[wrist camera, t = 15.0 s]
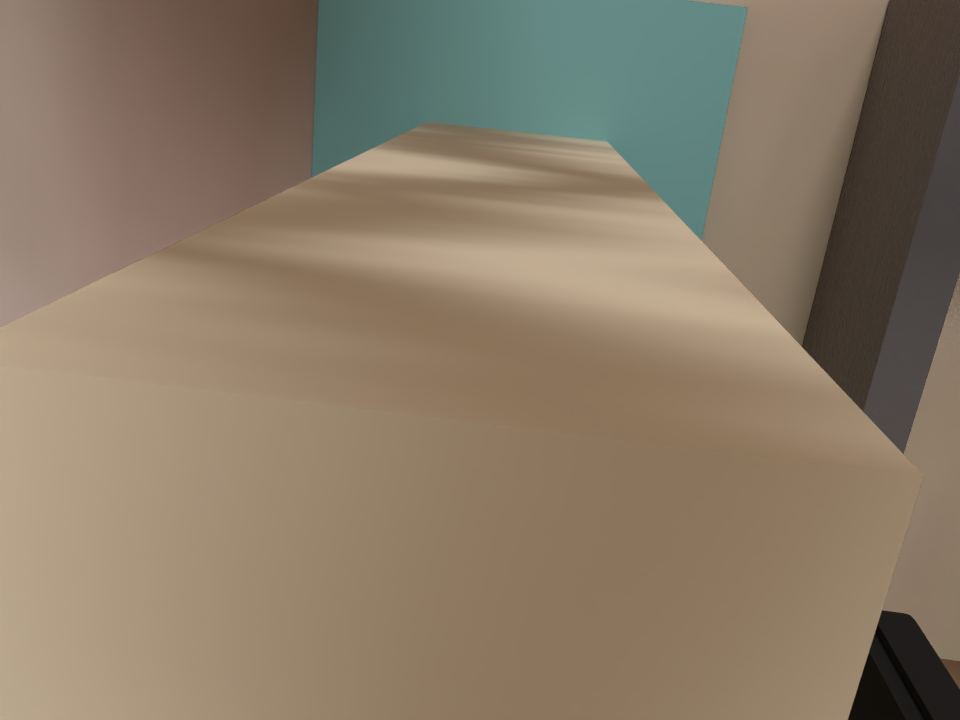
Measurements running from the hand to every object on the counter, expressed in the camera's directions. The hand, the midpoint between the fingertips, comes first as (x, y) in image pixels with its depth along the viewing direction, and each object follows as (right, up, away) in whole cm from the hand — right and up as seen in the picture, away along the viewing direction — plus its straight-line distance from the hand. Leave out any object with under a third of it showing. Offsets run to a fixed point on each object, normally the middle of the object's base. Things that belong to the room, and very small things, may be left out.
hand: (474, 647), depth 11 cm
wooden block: (0, +3, +9) cm, 10 cm away
